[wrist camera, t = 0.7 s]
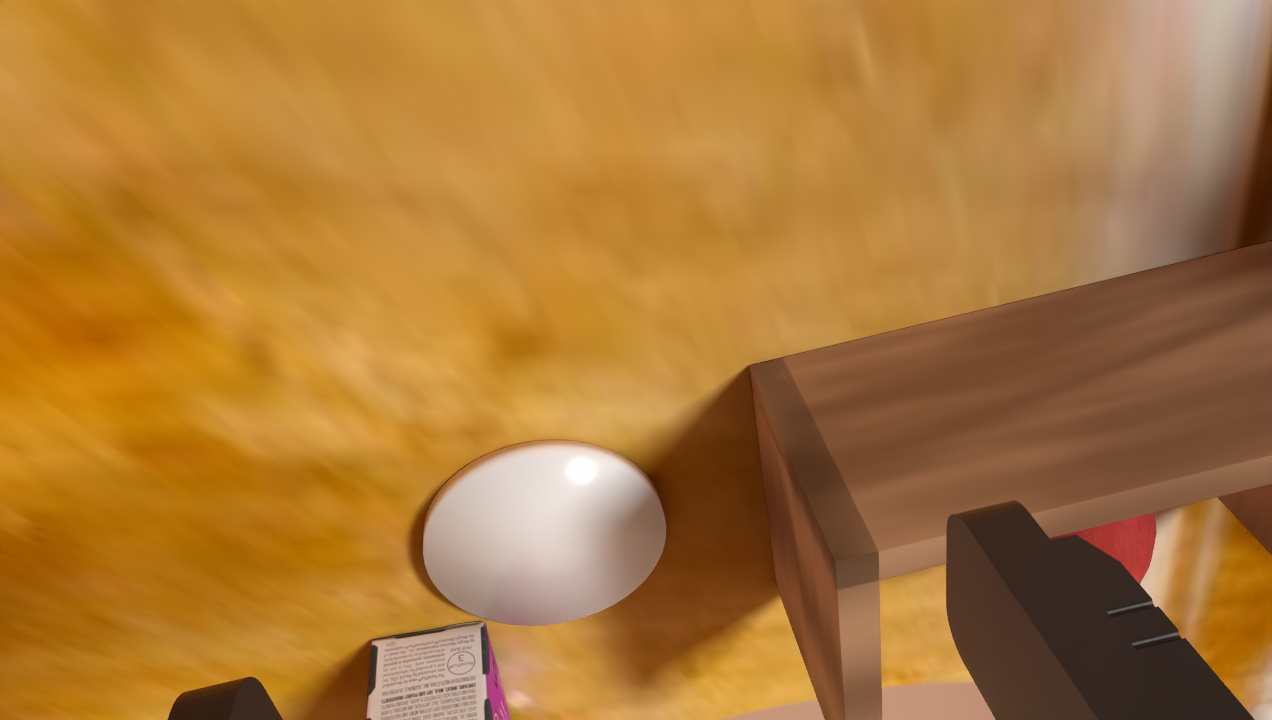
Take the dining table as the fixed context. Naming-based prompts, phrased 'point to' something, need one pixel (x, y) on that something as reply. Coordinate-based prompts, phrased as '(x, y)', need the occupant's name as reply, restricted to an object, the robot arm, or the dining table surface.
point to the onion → (1125, 542)
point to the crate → (1008, 437)
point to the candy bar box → (436, 676)
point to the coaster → (543, 532)
